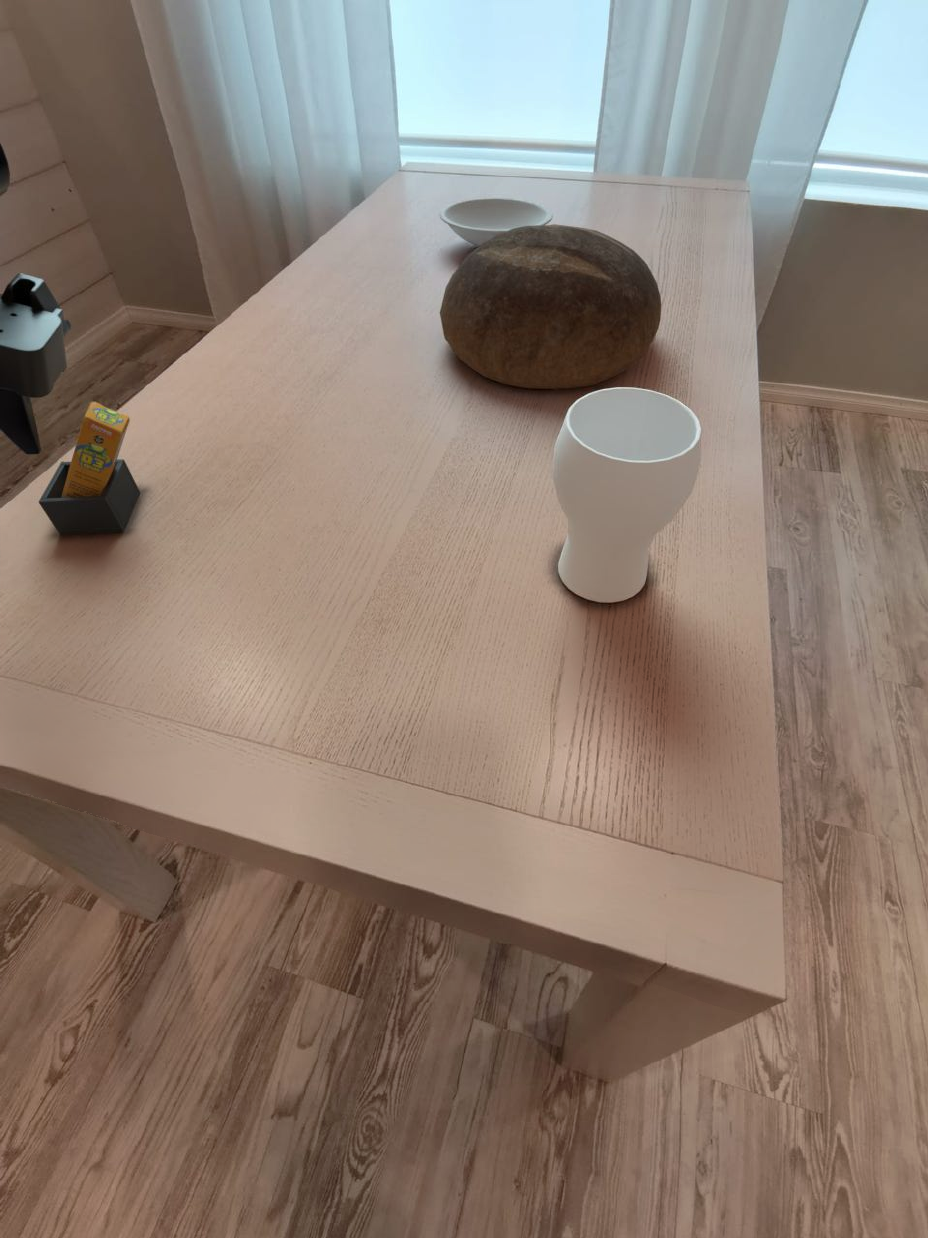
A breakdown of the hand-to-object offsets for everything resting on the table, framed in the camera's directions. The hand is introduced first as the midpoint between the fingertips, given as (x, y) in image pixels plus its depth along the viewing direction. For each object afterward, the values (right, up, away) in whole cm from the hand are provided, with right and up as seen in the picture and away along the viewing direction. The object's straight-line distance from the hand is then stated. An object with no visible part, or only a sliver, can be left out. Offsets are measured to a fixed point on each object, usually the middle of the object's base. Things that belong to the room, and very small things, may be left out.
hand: (10, 491), depth 47 cm
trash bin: (-3, +1, +17) cm, 17 cm away
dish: (+38, +50, +58) cm, 85 cm away
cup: (+45, -5, +11) cm, 47 cm away
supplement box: (-4, +2, +15) cm, 16 cm away
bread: (+44, +26, +37) cm, 63 cm away
